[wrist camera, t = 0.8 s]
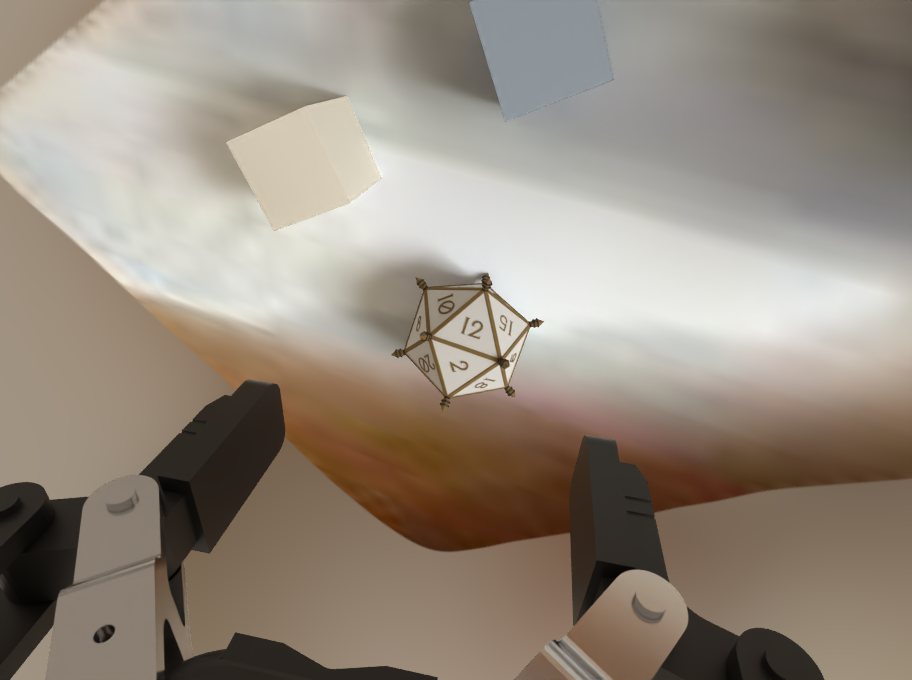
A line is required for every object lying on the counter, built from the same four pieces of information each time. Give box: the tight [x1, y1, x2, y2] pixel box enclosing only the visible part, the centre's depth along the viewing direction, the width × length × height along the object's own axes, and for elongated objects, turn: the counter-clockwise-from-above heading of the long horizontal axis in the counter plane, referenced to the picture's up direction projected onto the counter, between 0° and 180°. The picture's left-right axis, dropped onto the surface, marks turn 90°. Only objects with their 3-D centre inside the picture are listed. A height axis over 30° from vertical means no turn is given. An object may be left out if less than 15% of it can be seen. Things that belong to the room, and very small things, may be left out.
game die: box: [391, 273, 544, 412], centre depth 32 cm, size 9×8×10 cm
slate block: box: [469, 0, 614, 122], centre depth 24 cm, size 5×5×6 cm
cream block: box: [226, 96, 382, 231], centre depth 29 cm, size 5×5×6 cm
